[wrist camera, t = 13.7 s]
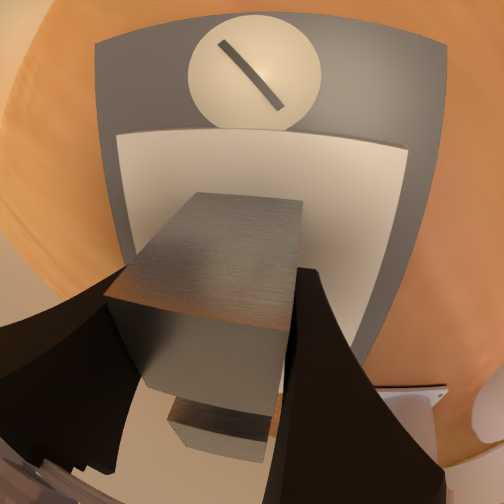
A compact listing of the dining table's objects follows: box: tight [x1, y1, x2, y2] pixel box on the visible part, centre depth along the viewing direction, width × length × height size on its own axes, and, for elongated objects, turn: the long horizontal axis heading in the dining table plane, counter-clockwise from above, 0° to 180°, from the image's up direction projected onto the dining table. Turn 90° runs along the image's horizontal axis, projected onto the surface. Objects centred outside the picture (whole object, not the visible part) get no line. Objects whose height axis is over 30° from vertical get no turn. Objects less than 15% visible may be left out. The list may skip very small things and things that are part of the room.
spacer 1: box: [103, 192, 303, 416], centre depth 9 cm, size 4×4×6 cm
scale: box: [95, 12, 447, 393], centre depth 13 cm, size 21×14×2 cm, turn 179°
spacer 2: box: [167, 396, 272, 463], centre depth 12 cm, size 4×4×6 cm
